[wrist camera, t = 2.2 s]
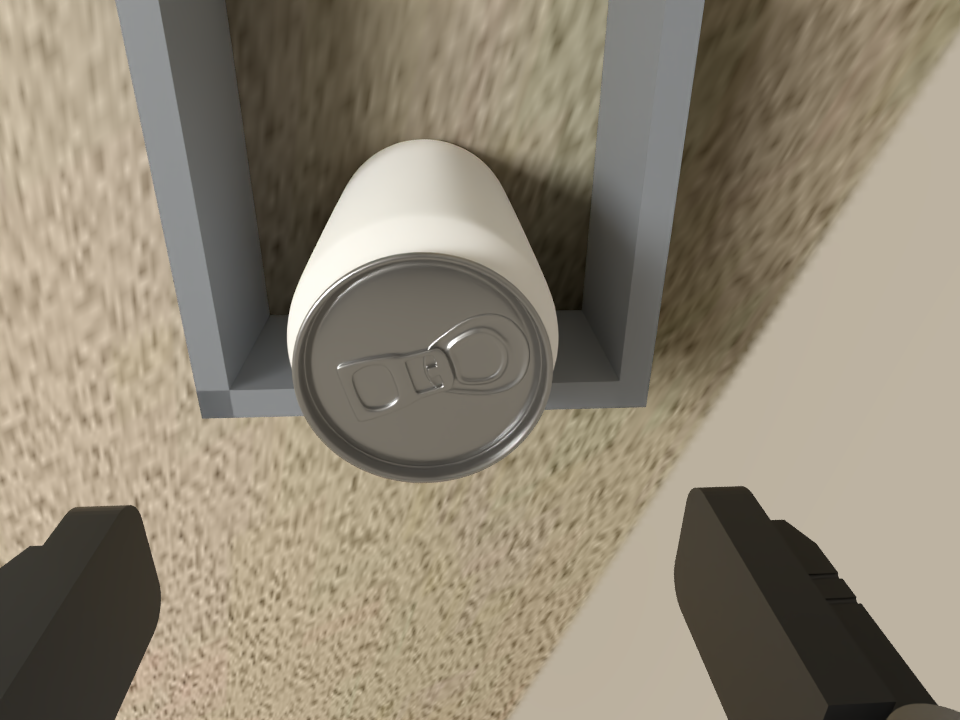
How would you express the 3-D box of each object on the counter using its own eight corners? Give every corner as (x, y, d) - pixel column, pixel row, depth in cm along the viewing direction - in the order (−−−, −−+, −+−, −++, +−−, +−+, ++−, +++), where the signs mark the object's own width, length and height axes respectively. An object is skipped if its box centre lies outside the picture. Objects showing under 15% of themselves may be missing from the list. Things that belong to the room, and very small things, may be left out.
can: (529, 280, 26) (598, 458, 16) (373, 324, 27) (336, 527, 16) (487, 113, 23) (536, 191, 13) (312, 165, 24) (216, 284, 13)
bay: (180, -80, 20) (91, -116, 15) (645, -70, 21) (719, -100, 16) (247, 338, 27) (202, 418, 21) (603, 332, 28) (645, 406, 22)
